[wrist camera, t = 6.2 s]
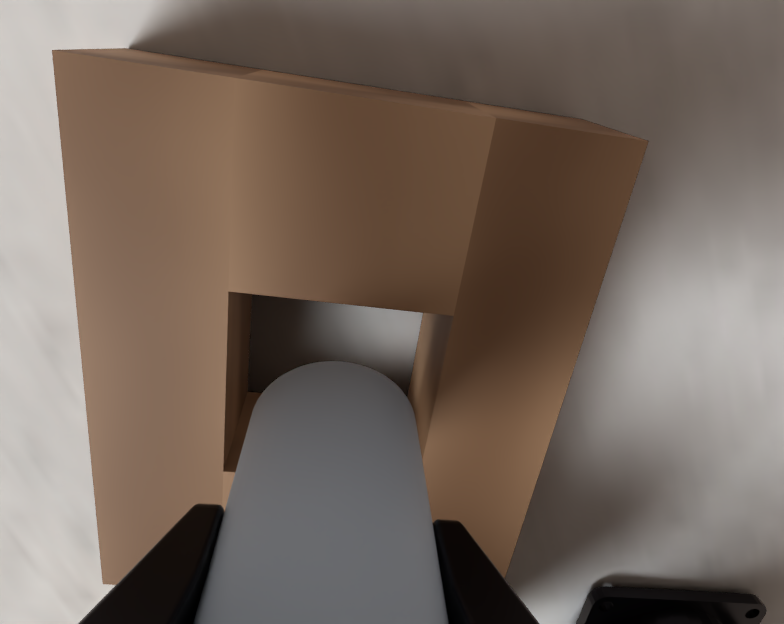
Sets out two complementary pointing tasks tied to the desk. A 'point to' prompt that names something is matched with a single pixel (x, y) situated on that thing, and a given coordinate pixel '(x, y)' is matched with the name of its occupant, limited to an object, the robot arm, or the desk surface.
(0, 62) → the desk surface
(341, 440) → the peg
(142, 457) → the socket station
